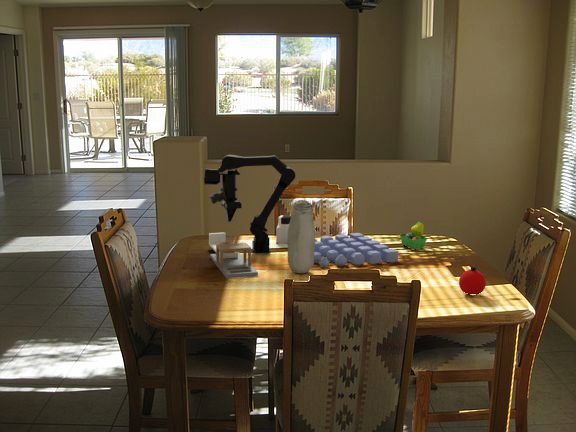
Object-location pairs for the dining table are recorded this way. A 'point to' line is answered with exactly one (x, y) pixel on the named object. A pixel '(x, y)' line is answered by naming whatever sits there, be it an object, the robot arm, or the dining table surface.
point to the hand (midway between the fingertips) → (229, 221)
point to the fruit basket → (414, 237)
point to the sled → (217, 239)
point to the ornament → (472, 281)
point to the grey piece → (234, 261)
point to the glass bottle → (301, 238)
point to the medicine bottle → (282, 229)
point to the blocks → (352, 250)
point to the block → (227, 243)
